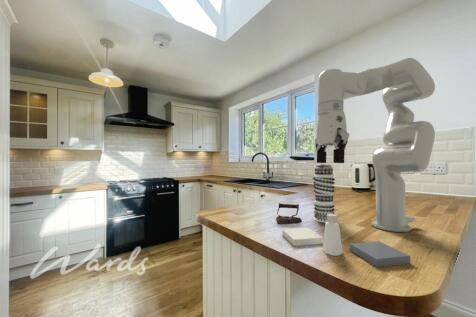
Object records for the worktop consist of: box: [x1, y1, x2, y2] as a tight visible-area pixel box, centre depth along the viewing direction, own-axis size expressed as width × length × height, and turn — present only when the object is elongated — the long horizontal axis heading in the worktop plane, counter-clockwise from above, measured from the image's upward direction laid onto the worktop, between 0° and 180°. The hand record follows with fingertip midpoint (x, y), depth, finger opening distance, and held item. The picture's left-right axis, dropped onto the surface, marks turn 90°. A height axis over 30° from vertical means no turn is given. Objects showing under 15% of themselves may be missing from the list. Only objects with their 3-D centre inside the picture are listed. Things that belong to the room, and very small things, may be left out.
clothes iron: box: [275, 202, 303, 225], centre depth 94 cm, size 7×11×10 cm, turn 87°
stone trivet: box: [281, 227, 324, 247], centre depth 73 cm, size 10×10×2 cm
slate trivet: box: [349, 240, 411, 268], centre depth 59 cm, size 10×10×2 cm
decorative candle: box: [312, 163, 336, 224], centre depth 95 cm, size 9×9×25 cm
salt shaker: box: [322, 214, 343, 257], centre depth 63 cm, size 5×5×11 cm
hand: (329, 162), depth 68 cm, fingers open, 9 cm apart
